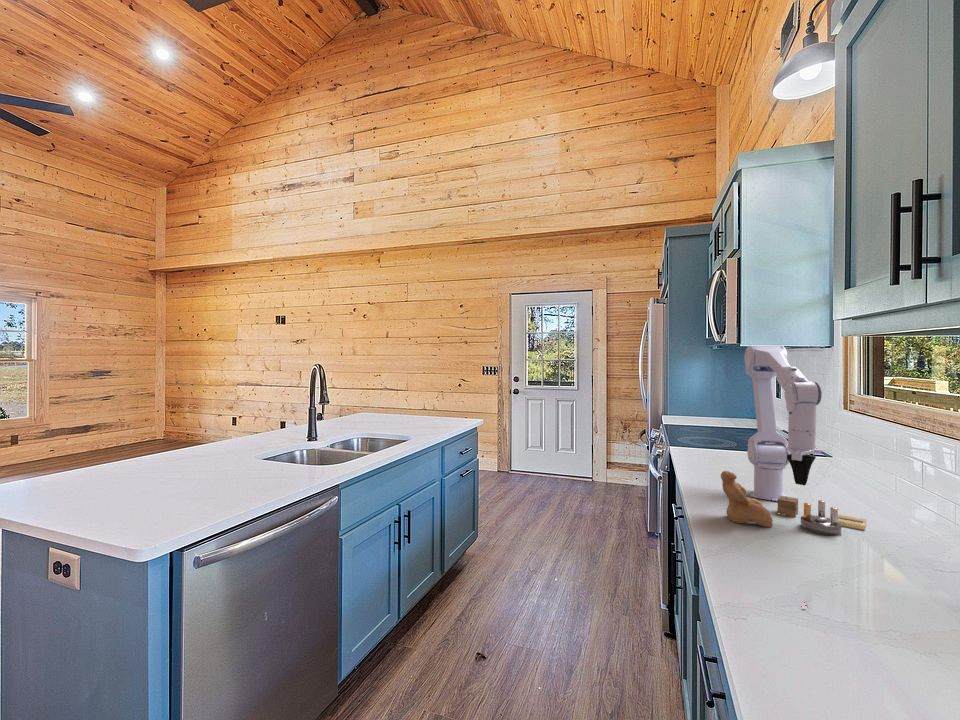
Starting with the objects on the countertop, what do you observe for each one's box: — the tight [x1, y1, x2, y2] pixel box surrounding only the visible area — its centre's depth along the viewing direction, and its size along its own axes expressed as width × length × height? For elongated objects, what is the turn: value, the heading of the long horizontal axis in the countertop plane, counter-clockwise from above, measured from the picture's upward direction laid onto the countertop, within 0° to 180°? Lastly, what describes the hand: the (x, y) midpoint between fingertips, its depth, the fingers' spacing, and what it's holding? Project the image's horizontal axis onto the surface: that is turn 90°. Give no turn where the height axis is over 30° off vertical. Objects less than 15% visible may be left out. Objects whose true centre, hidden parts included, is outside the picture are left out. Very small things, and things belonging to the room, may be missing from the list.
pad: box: [838, 514, 867, 531], centre depth 121 cm, size 6×6×1 cm
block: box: [776, 496, 799, 518], centre depth 129 cm, size 4×4×4 cm
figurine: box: [720, 470, 773, 528], centre depth 123 cm, size 11×9×15 cm
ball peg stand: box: [800, 499, 843, 537], centre depth 117 cm, size 8×8×6 cm
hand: (800, 484), depth 123 cm, fingers closed
